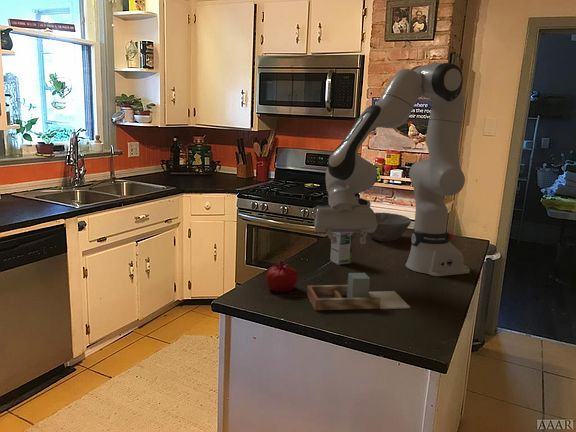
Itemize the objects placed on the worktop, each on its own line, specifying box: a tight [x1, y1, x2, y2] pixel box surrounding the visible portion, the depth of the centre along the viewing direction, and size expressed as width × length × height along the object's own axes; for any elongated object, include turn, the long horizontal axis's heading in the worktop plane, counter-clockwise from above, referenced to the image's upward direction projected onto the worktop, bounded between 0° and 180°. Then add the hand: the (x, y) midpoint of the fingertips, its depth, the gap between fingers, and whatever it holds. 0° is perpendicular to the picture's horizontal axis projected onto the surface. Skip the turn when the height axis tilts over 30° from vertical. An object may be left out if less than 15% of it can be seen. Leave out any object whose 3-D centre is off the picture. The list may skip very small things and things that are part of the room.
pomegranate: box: [265, 260, 299, 293], centre depth 149 cm, size 10×10×9 cm
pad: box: [369, 290, 411, 310], centre depth 144 cm, size 9×12×1 cm
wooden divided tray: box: [311, 284, 381, 311], centre depth 142 cm, size 18×11×3 cm, turn 99°
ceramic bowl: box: [367, 212, 412, 243], centre depth 212 cm, size 22×23×10 cm
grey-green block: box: [346, 272, 371, 298], centre depth 142 cm, size 5×5×8 cm
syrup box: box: [330, 232, 354, 266], centre depth 177 cm, size 6×6×14 cm
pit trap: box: [306, 284, 343, 311], centre depth 141 cm, size 9×11×3 cm
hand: (348, 242), depth 151 cm, fingers open, 8 cm apart
